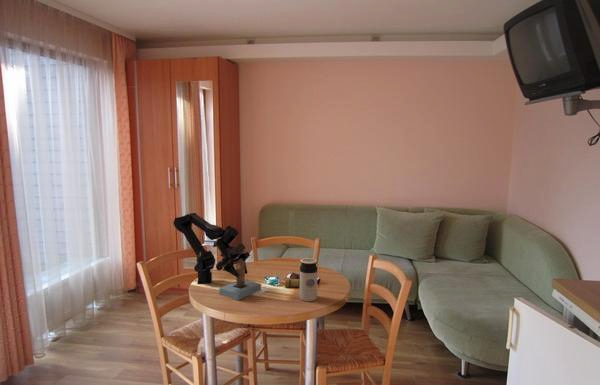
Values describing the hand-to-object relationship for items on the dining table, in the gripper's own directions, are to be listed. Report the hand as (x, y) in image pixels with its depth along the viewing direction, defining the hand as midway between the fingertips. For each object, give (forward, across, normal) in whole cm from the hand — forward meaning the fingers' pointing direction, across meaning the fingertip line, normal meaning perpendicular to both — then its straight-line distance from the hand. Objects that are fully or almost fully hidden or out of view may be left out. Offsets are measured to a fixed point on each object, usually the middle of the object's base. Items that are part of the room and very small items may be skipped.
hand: (242, 275), depth 179 cm
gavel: (+14, +28, -1) cm, 31 cm away
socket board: (+5, 0, +7) cm, 9 cm away
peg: (+5, 0, +7) cm, 9 cm away
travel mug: (+27, +12, -14) cm, 33 cm away
